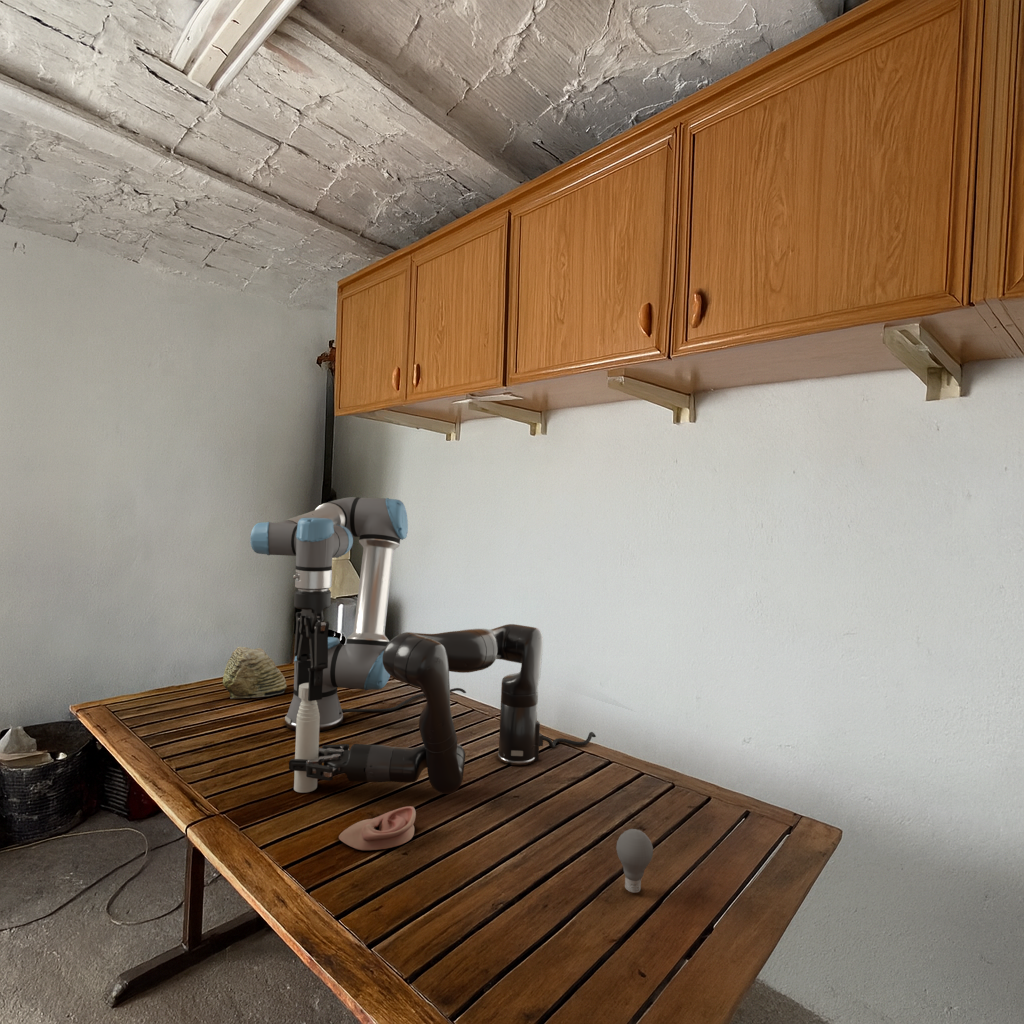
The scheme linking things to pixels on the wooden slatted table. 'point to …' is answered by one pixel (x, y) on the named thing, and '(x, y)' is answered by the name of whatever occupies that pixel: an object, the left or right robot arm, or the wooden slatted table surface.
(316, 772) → the right robot arm
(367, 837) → the anatomical model
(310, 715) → the bottle
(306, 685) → the cap
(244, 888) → the wooden slatted table surface
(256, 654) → the fossil
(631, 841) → the light bulb
